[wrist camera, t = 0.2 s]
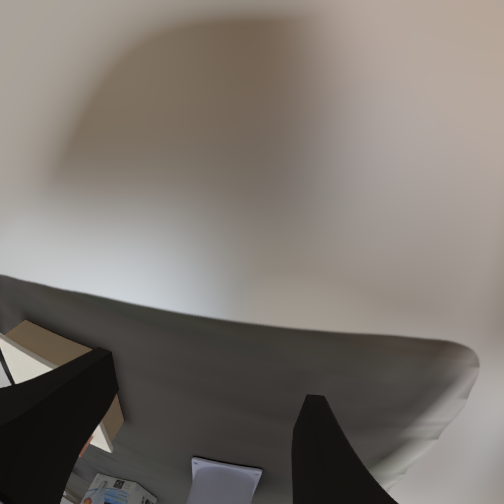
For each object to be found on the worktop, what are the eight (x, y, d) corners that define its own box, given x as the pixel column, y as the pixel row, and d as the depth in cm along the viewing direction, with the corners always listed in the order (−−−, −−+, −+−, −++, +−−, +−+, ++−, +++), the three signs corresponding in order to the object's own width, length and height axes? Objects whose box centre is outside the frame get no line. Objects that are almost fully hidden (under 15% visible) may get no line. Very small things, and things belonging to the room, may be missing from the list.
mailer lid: (113, 449, 21) (100, 472, 18) (29, 403, 22) (14, 420, 18) (88, 380, 18) (65, 408, 14) (-1, 332, 19) (-23, 348, 15)
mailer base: (124, 420, 25) (110, 444, 21) (47, 384, 26) (31, 401, 22) (108, 355, 22) (87, 379, 18) (25, 319, 23) (4, 335, 19)
